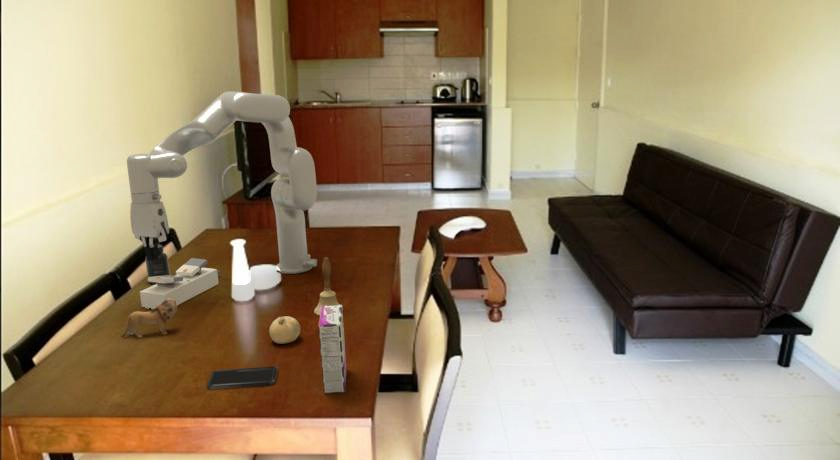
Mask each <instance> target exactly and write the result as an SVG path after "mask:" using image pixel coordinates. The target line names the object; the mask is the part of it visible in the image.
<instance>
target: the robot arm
mask: <svg viewBox="0 0 840 460" xmlns="http://www.w3.org/2000/svg"><path fill="white" fill-rule="evenodd" d="M290 112H291V106H290V103H289V101H288V100H287V99H286V98H285V97H284V96H281V95H279V94H268V93H251V92H245V91H244V92H243V91H233V90H231V91H226V92H223V93H221V94H220V95H219V96H218V97H217V98H215V99H214V100H213V101H212V102H211V103H210V104H209V105H208V106H207V107H206V108H205V109H204V110H202V111H201V112H200V113H199V114H198V115H197V116H196V117H195V118H193V120H191V121H190V122H187V123H186V124H184V125H183V126H182V127H180V128H178V129H177V130H175V131H173V132H172V133H170V134H169V135H167V136H166V137H165V138H164V139H162V140H161V141H160V142H159V143H158V144H157V145H156V146H155V147H154V148H153V149H152V150H151V151H150V153H134V154H131V155H128V156H127V158H126V165H127V167H126V168H127V173H128V174H127V175H128V183H129V191H130V198H131V202H130V218H129V219H130V226H131V227H130V229H131V232H132V234H133V235H134V238H135V239H137V240H139V241H140V242H141V243H142V246H143V247H144V248H145V258H146V257H147V260H150V261H153V260H155V259H158V258H159V252H158V245H161V244H160V243H162V242H165V241H167V235H169V233H170V225H169V221H168V215H167V211H166V207H165V205H164V203H163V201H161V200H162V195H161V194H160V187H159V179H175V178H180V177H181V176H182V175H184V174H185V173H186V171H187V169H188V162H187V159H186V158H185V157H184V156H185V155H186V154H188V152H191V151H192V150H195V149H197V148H200V147H204V146H207V145H210V144H212V143H213V142H216V140H217V139H219V137H220V136H221V135H222V134H223V133H225V132H226V131H227V130H228V129H229V128H230V127H231V126H233V124H234V123H236V121H239V122H250V123H261V124H262V125H263V126H264V128H265V129H266V133H267V135H268V136H267V137H268V143H269V151H270V161H271V166H272V168H273V170H274V171H275V172H276V173H279V174H282V175H286V176H288V177H285V176H284V177H281V178H278V179H276V180H275V181H274V182H273V184H272V186H271V190H270V195H271V200H272V204H273V209H274V213H275V221H276V224H275V225H276V233H277V234H276V235H277V247H278V257H279V258H278V259H279V263H277V264H276V265H275V267H276V266H278V267H279V268H280V270H281V274H289V275H291V274H292V275H293V274H300V273H305V272H307V271H310V270H311V269H312V268H313V267H314V268H315V267H317V265H318V259H316V258H311V254H309V253H308V245H307V235H306V234H307V233H306V217H305V213H304V211H306V210H307V211H308V210H310V209H312V207H313V206H314V205H315V203H316V202H317V201H316V200H317V196H318V190H317V188H318V187H317V176H316V167H315V161H314V159H313V156H312V154H311V153H310V152H309V151H308V150H307V149H305V148H302V147H298V146H297V145H298V144H297V140H296V133H295V129H294V125H293V122H292V120H291V118H290V117H289V116H290Z"/></svg>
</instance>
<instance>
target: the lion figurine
mask: <svg viewBox="0 0 840 460" xmlns="http://www.w3.org/2000/svg"><path fill="white" fill-rule="evenodd" d="M177 312H178V305H176V300H173V299H171V298H168V299H166V300H164V301H163V302H162V303H161V304H160V305H159V306H157V307H156V308H155V309H151V311H139V310H137V311H133V312H131V313H130V314H129V315H128V316H127V320H126V325H125V326H126V327H125V330H124V333H123V334H122V335H121V336H120V337H121V338H124V337H126V335H127V333H128V335H131V336H132V335H134V334H135V336H136V338H138V339H141V338H143V337H144V335H143V334H140V332H139V328H140V327H141V326H140V324H143V325H147V326H148V325H149V326H152V325H158V328H159V330H160V332H161V333H162V335H167V334H168V331H166V323H168V322H171V321H172V320H173V317H174V316H175V315H176V313H177ZM130 322H131V323H130ZM133 329H134V331H132V330H133Z"/></svg>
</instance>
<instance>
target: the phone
mask: <svg viewBox="0 0 840 460" xmlns="http://www.w3.org/2000/svg"><path fill="white" fill-rule="evenodd" d="M278 372H279V371H278V367H277V366H265V367H264V366H261V367H260V366H259V367H244V368H229V369H226V368H225V369H216V370H213V371H212V372H211V374H210V376H209V378H208V381H207V383H206V389H207V390H222V389H239V388H252V387H256V388H257V387H269V386H273V385H274V384H275V383H276V379H277V375H278Z"/></svg>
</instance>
